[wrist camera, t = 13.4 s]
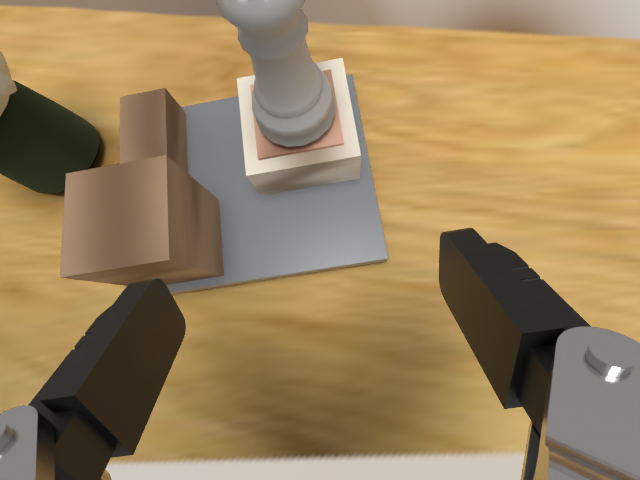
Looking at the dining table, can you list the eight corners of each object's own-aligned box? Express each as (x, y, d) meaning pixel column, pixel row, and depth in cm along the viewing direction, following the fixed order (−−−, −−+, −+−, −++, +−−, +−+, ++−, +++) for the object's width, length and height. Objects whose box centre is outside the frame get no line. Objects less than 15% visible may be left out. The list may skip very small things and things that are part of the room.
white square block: (261, 195, 20) (244, 174, 17) (252, 110, 22) (235, 76, 19) (359, 178, 20) (361, 153, 17) (343, 92, 21) (342, 55, 18)
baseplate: (143, 298, 21) (131, 298, 19) (142, 126, 24) (131, 116, 23) (386, 261, 20) (388, 258, 18) (352, 86, 23) (352, 74, 22)
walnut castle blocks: (146, 287, 20) (60, 277, 14) (145, 120, 22) (72, 52, 17) (224, 275, 19) (169, 259, 13) (212, 107, 22) (163, 33, 16)
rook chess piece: (352, 120, 17) (353, -38, 9) (286, 166, 17) (231, 43, 9) (306, 67, 18) (273, -114, 10) (243, 110, 18) (161, -43, 10)
